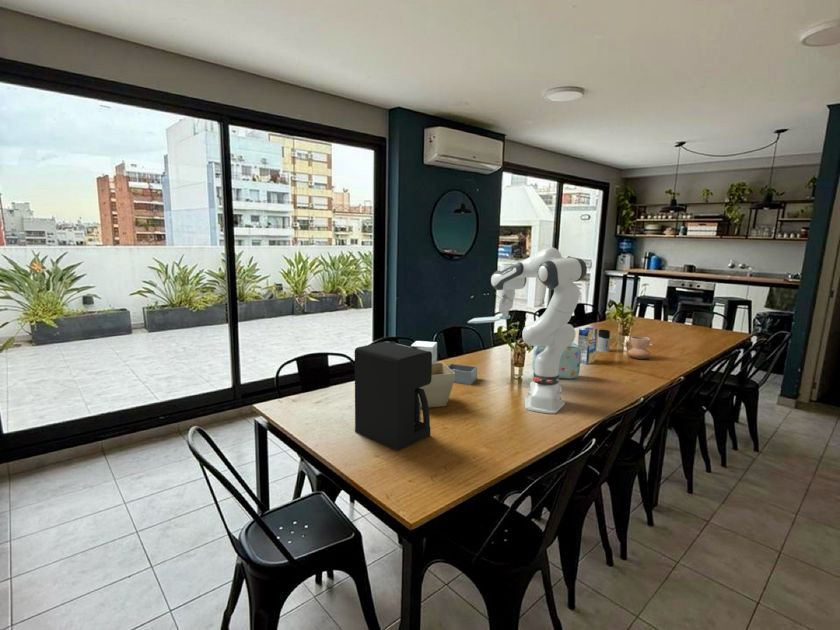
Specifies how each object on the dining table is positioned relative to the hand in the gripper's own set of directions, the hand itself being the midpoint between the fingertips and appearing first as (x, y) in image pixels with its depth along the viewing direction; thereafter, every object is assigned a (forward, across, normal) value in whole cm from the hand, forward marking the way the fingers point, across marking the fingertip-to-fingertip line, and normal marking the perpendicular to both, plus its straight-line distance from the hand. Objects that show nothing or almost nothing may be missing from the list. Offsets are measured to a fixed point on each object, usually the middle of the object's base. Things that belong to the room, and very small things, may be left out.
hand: (505, 318), depth 243 cm
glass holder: (+35, +101, -54) cm, 120 cm away
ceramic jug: (+36, +92, -74) cm, 123 cm away
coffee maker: (+35, -90, +23) cm, 99 cm away
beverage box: (+35, +63, -42) cm, 84 cm away
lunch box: (+35, +20, -27) cm, 49 cm away
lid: (+2, 0, +8) cm, 9 cm away
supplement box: (+35, -5, +46) cm, 58 cm away
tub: (+35, -10, +22) cm, 42 cm away
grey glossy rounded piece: (+34, -7, +26) cm, 43 cm away
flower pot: (+35, -51, +24) cm, 66 cm away
